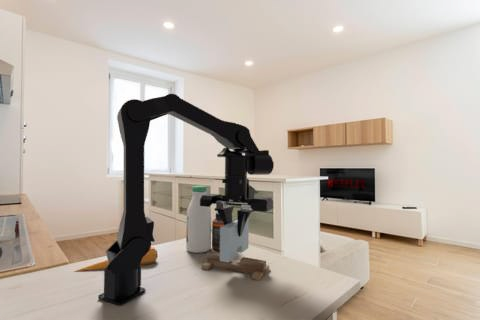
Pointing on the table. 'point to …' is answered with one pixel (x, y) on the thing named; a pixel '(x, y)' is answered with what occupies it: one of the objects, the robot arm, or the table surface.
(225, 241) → the pale blue flat block
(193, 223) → the green-capped white bottle
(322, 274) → the table surface
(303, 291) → the table surface
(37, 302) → the table surface
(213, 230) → the supplement bottle
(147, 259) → the carrot
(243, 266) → the walnut crossed blocks
